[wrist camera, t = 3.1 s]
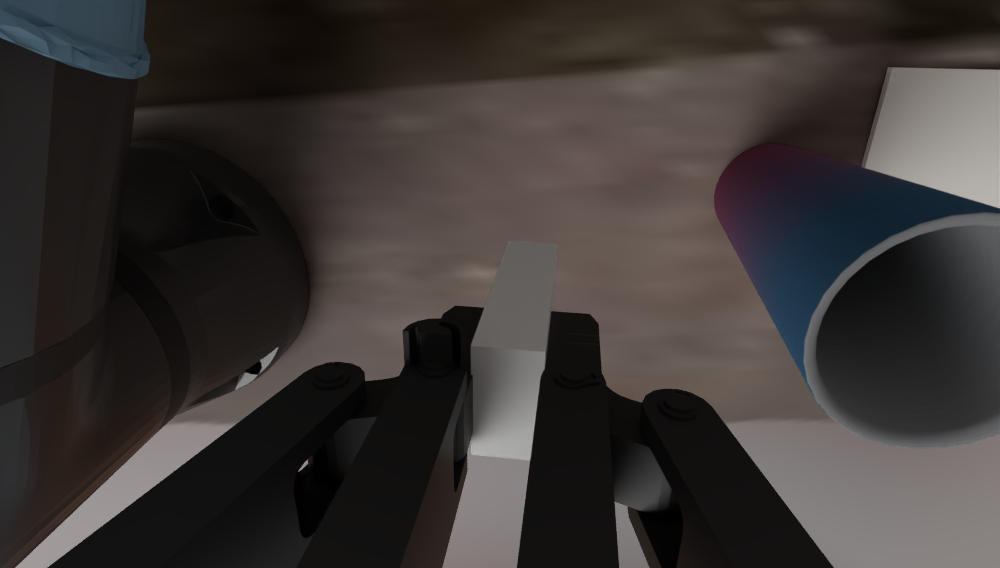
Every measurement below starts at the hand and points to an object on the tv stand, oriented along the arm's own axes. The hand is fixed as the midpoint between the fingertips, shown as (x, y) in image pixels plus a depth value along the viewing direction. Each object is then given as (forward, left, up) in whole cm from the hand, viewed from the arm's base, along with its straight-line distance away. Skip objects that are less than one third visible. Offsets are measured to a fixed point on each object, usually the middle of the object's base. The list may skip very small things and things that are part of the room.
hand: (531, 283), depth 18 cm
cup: (+11, 0, -13) cm, 17 cm away
